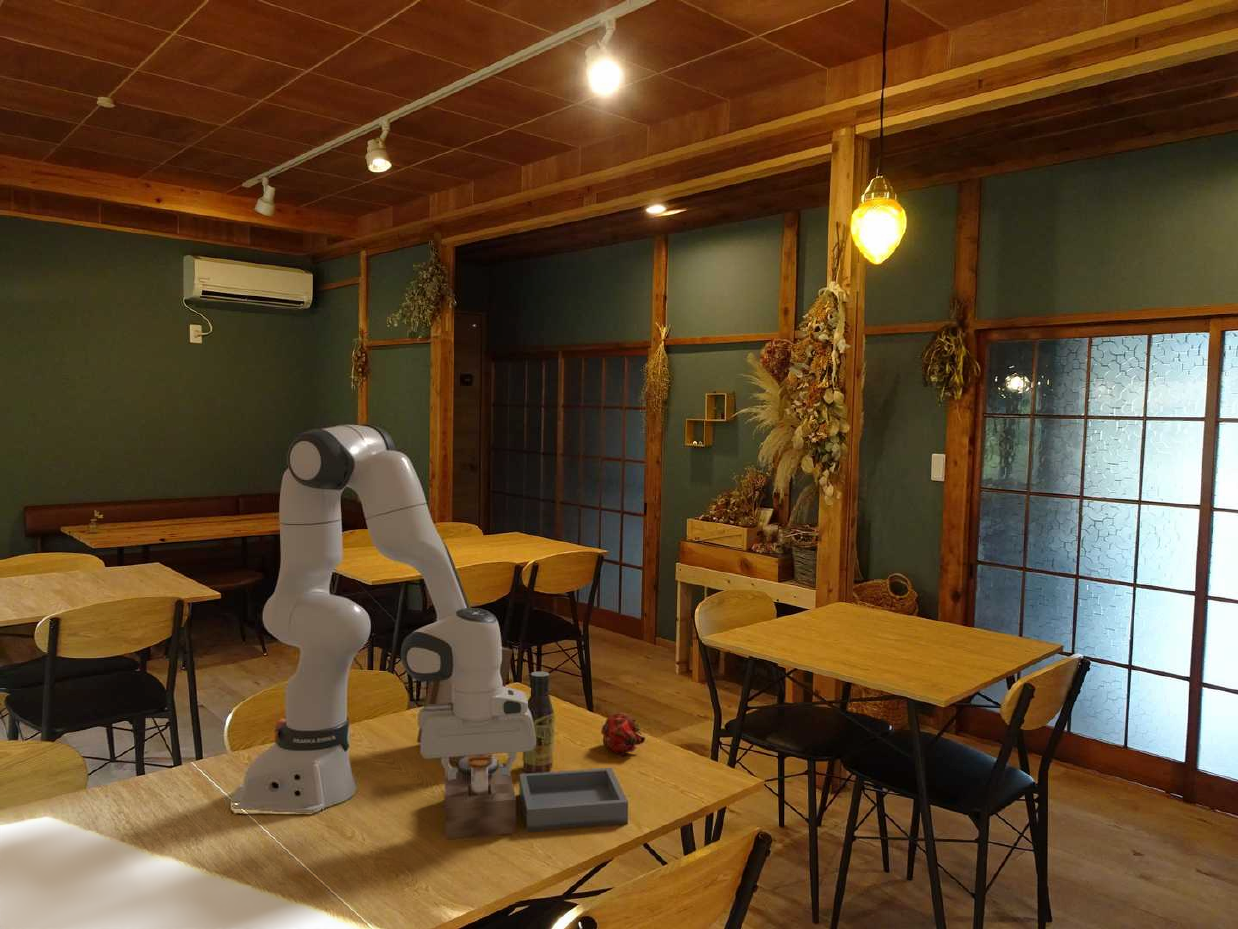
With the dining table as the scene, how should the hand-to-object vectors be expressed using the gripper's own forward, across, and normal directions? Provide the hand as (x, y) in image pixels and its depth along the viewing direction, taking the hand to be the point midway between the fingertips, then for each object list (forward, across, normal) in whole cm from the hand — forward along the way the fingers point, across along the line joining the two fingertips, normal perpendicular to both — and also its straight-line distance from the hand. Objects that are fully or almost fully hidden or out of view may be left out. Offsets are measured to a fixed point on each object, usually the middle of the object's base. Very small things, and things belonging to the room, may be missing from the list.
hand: (479, 777), depth 161 cm
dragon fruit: (+10, +31, +31) cm, 45 cm away
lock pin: (+9, 0, 0) cm, 9 cm away
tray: (+9, +17, +4) cm, 19 cm away
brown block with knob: (+9, 0, +3) cm, 9 cm away
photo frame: (+10, -1, +35) cm, 37 cm away
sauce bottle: (+10, +12, +24) cm, 28 cm away
